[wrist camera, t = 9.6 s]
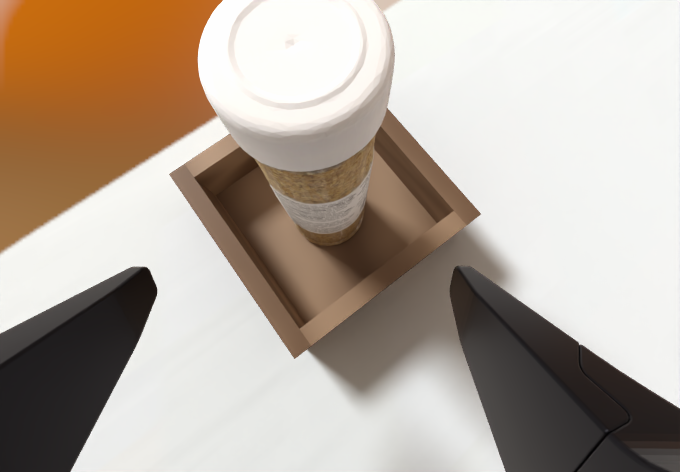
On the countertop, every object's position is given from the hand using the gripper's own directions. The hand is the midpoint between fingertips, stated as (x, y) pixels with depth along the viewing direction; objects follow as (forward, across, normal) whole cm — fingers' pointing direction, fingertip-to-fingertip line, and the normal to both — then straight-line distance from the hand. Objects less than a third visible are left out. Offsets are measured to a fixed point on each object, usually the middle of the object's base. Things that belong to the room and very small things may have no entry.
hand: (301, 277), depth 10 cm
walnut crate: (+11, 0, +4) cm, 12 cm away
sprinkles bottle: (+11, 0, +4) cm, 11 cm away
